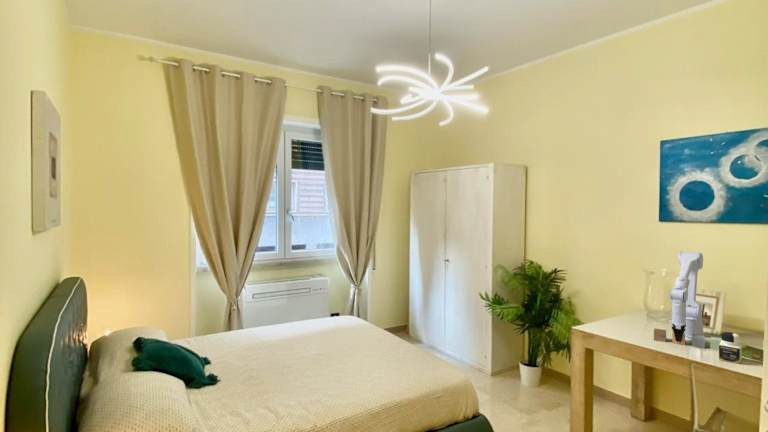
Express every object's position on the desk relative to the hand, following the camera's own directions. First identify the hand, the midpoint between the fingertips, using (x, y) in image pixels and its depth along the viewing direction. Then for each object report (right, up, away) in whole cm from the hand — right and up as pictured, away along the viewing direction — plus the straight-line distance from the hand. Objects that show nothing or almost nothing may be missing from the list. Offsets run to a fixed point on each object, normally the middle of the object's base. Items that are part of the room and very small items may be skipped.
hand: (678, 339), depth 206 cm
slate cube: (+6, -2, -5) cm, 8 cm away
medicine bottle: (+6, -2, -23) cm, 24 cm away
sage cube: (+11, -2, -10) cm, 15 cm away
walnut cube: (-6, -2, +5) cm, 8 cm away
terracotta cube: (0, -1, 0) cm, 1 cm away
